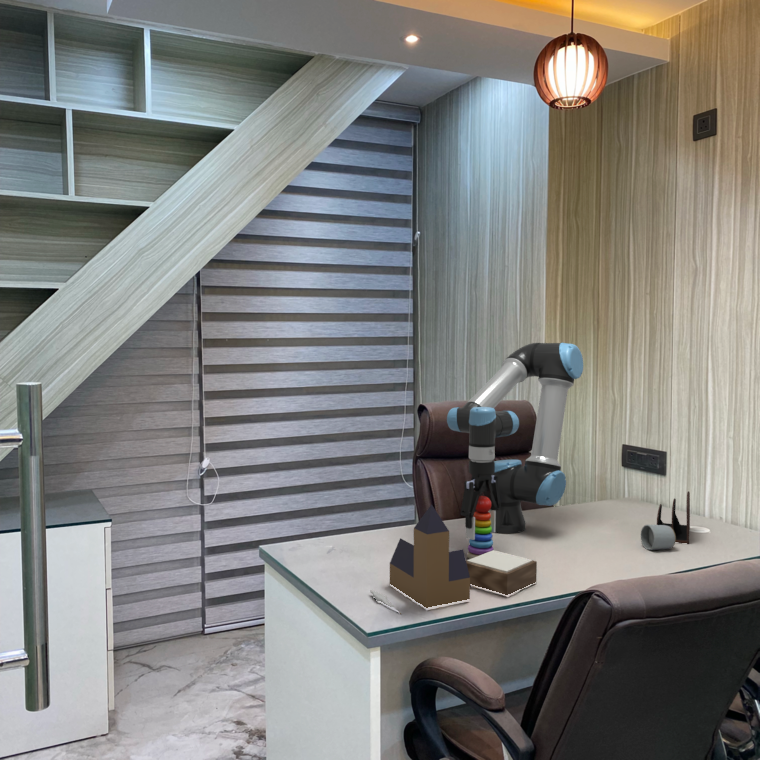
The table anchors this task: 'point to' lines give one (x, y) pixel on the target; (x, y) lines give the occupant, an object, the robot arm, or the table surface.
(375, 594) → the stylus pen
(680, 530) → the letter holder
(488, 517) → the stacking toy
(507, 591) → the base block
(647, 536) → the ceramic mug
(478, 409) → the robot arm
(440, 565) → the toy building blocks
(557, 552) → the table surface
